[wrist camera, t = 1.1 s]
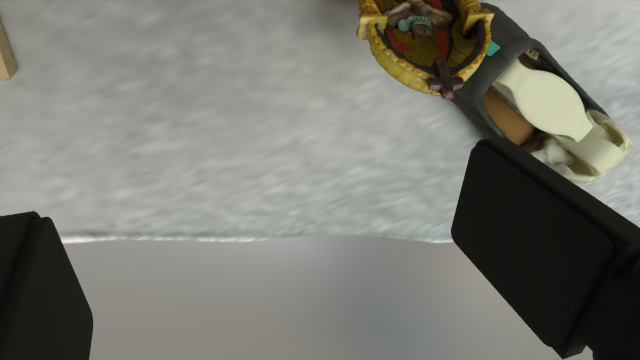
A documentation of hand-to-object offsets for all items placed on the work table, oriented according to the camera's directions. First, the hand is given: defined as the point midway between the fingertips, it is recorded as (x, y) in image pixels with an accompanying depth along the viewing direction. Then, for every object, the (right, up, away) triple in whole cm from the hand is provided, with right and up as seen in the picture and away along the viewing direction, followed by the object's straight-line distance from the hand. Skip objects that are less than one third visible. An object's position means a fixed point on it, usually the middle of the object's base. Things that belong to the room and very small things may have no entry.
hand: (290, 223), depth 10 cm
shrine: (+5, +18, +22) cm, 28 cm away
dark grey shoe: (+21, +9, +34) cm, 41 cm away
